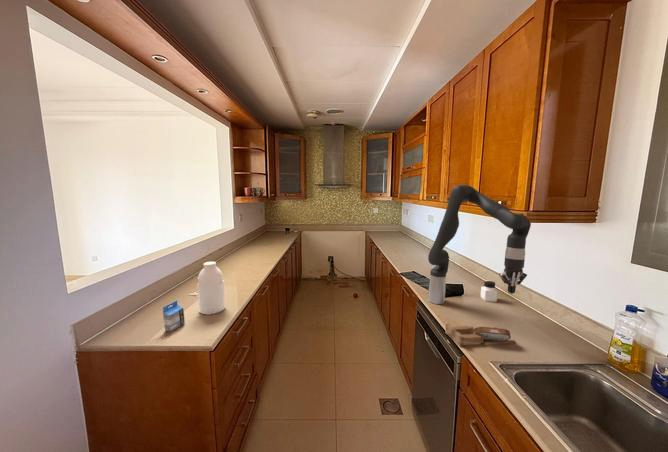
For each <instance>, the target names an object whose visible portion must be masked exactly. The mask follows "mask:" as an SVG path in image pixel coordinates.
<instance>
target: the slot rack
mask: <svg viewBox="0 0 668 452" xmlns="http://www.w3.org/2000/svg"><path fill="white" fill-rule="evenodd" d="M494 328H497V327H494ZM474 329H475V328H474V326H473V325H472V326H469V325H459V326H458V325H457V326H452V325H451V324H450V323H446V324H445V334H446V335H448V337H449V338H450V339H451V340H452V341H453V342H454V343H456V345H458V346H459V348H463V347H464V346H468V345H469V346H471V345H472V346H473V345H481V344H483V345H484V346H489V345H490V346H491V345H502V344H514V343H516V340H515V339H511V338H510V339H509V340H507V341H496V340H492V341H485V342H484V340H485V339H484V335H481V334H474V332H473V330H474Z"/></svg>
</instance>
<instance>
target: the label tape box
mask: <svg viewBox="0 0 668 452" xmlns="http://www.w3.org/2000/svg"><path fill="white" fill-rule="evenodd" d="M162 314H163V315H162V316H163V323H164V331H165V332H173V331H174V330H176V329H177V328H179V327H181V326H182V325H184V324H185V323H186V321H185V320H186V319H185V312H184V308H183V306H180V305H179V304H178V300H175V301H173V302H171V303H168V304H166V305H164V306H163V307H162Z"/></svg>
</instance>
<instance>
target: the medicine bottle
mask: <svg viewBox="0 0 668 452" xmlns="http://www.w3.org/2000/svg"><path fill="white" fill-rule="evenodd" d="M498 292H499V291H498V290H496V282H495V281H492V280H484V282H483V286H481V288H480V298H481V299H482V300H483V301H484V302H493V303H494V302H497V301H498Z"/></svg>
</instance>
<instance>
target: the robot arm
mask: <svg viewBox="0 0 668 452" xmlns="http://www.w3.org/2000/svg"><path fill="white" fill-rule="evenodd" d="M448 197H449V199H448V202H447V204H446V205H447V206H446V210H445V213H444V216H443V218H442V220H441V223H440V226H439V229H438V231H437V235H436V237H435V240H434V243H433V244H432V246H431V248H430V250H429V252H428V258H427V259H428V263H429V264H430V265H431V266H434V267H433V268H431V269H430V275H429V285H428V286H429V287H428V301H429V302H430V303H432V304H435V305H443V304H445V300H446V298H445V297H446V284H447V283H446V282H447V273H448V270H449V265H450V256H449V252H448V251H447V250H446V249H444V248H445V247H446V245H448V243H450V241H452V240H453V239H454V238H455V236H456V235H457V232H458V229H459V226H460V219H459V211H460V208H461V205H462V203H467V202H468V203H471V204H474V205H476V206H478V207H479V208H480V209H481V210H482V211H483V212H484V213H485V214H486V215H488V216H490V217H492V218H494V219H495V220H497V221H499V222H500V223H501V224H502V225H504V226H505V227H506V228H508V229H510V230H512V231H511V233H510V234H508V236H507V238H506V248H505V252H504V260H503V261H504V262H503V265H504V269H503V271H502V273H501V272H500V273H498V275H499V277H500V279H501V280H502V282H503V283H504V284H505V285H507V292H508V293H509V294H512V295H513V294H515V293H516V288H517V285H521V284H522V282H523V281H524V280H525V279H526V278H527V277H528V274H527V273H524V268H525V260H526V243H527V238H528V235H529V232H530V229H531V225H532V222H531V223H530V221H529V220H528V219H527V217H526V216H524V215H523V214H524V213H515V212H512V211H511V210H510V208H509V207H507V206H505V205H503V204H502V203H500V202H498V201H495V200H493V199H491V198H489V197H488V196H486V195H484V194H483V193H481V192H479V191H478V190H477V189H476V188H474V187H473V186H471V185H468V184H462V185H461V184H458V185H455V186H454V187H452V189H451V191H450V193H449V196H448Z"/></svg>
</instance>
